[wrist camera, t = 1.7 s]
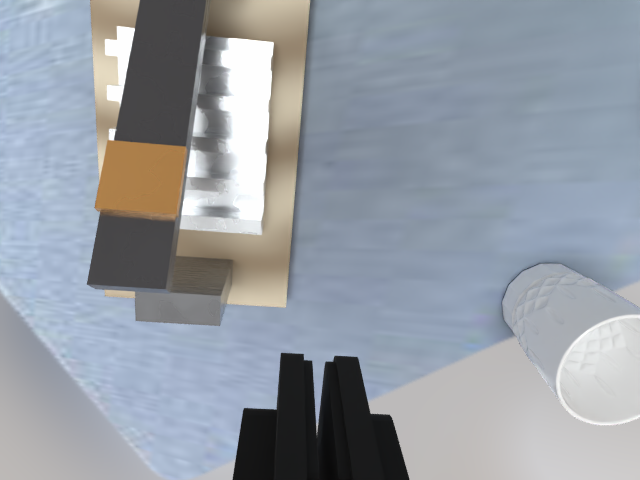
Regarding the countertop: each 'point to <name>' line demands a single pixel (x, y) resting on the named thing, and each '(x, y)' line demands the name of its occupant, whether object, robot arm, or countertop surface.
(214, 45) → the heat sink
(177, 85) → the strap
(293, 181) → the board
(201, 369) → the countertop surface
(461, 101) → the countertop surface
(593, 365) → the white cup
